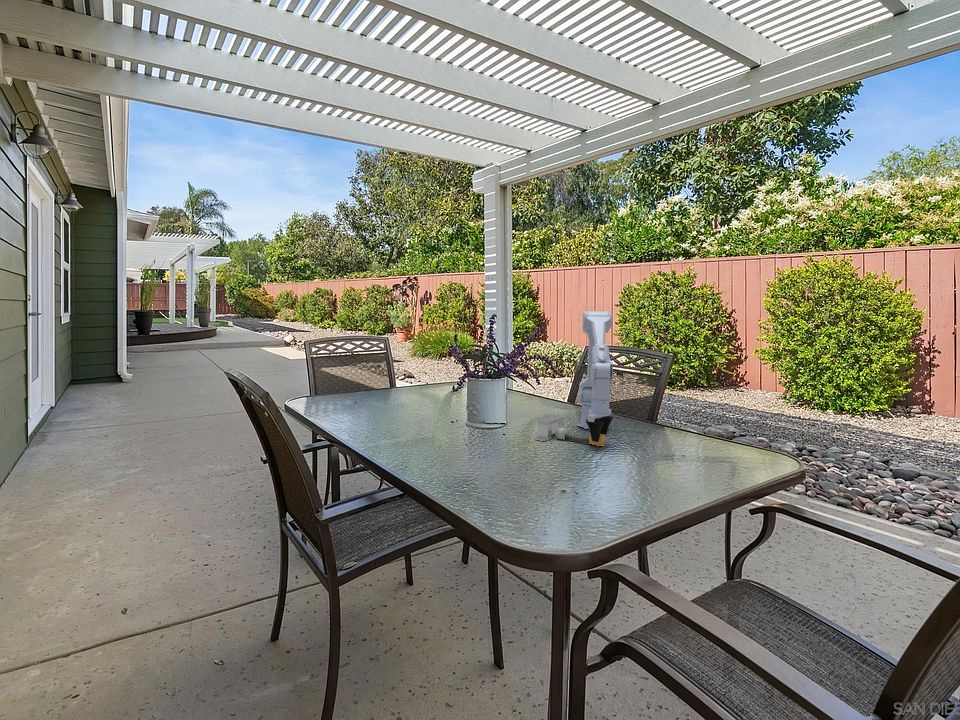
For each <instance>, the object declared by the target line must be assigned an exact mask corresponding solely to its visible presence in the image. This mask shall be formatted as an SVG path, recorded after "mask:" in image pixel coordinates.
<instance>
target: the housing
mask: <svg viewBox="0 0 960 720" xmlns="http://www.w3.org/2000/svg"><path fill="white" fill-rule="evenodd" d="M537 422H538V423H537V436H536V437H533V441H536V440H540V441H539V442H541V441H546V440H548V441H550V440H549V439H551V438H552V435H553V434H555V433H556V429H557V428H558V427H561V428H565V416H561V415H556V414H553V415H550V416H548V417H545V418H541V419H538V420H537ZM552 433H553V434H552ZM552 439H553V438H552ZM552 439H551V440H552ZM546 442H547V441H546Z"/></svg>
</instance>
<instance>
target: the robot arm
mask: <svg viewBox="0 0 960 720" xmlns="http://www.w3.org/2000/svg"><path fill="white" fill-rule="evenodd" d="M612 323H613V314H612V312H611V311H601V310H600V311H599V310H598V311H596V310H595V311H594V310H591V311H590V310H584V312H583V313H582V332H583V333H585V334H586V335H587V339H588V347H587V348H588V349H587V369H586V370H587V372H586V377H585V378H584V379H582V380H581V381H580V382H579V385H578V386H579V387H578V394H577V395H578V402H579V403H580V404H581V416H580V418H581V419H580V420H581V421H580V423H579V424H576V426H577V425H578V426H581V427H585V428H589V430H588V431H589V433H590V434H589V435H591V439H592V441H595V442H598V441H599V438H600V434H605V436H606V437H607V434H608V430H609V429H610V424H611V423H612V421H613V419H614V417H613V416H611V415H612V408H610V398H611V397H610V395H611V381H612V380H613V375H614V367H613V362H612V360H611V358H610V357H611V356H610V348H609V345H607V344H606V334H608V333H609V331H610V329H611V328H612ZM578 426H577V427H578ZM608 428H609V429H608Z"/></svg>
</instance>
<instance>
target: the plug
mask: <svg viewBox="0 0 960 720" xmlns="http://www.w3.org/2000/svg"><path fill="white" fill-rule="evenodd" d="M589 435H590V436H589V438H587V437H581V436H576V435H572V434H569V429H568V428H566V427H564V428H561V427H558V428H557V429H556V433H555V435H554V436H555V438H556V439H557V438H558V439H557V440H562V439H563V440H564V441H572V440H573V441H574V442H578V441H579V443H583V442H585V443H584V444H589V443H590V444H592V445H591V446H593V445H598V446H597V447H599V446H602V445H604V444H605V445H606V442H607V435H606V436H605V434H600V438H599V441H598V442H595V441H592V439H591V434H589ZM565 439H567V440H565ZM563 440H562V441H563ZM590 444H589V445H590ZM605 445H604V446H605Z"/></svg>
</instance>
